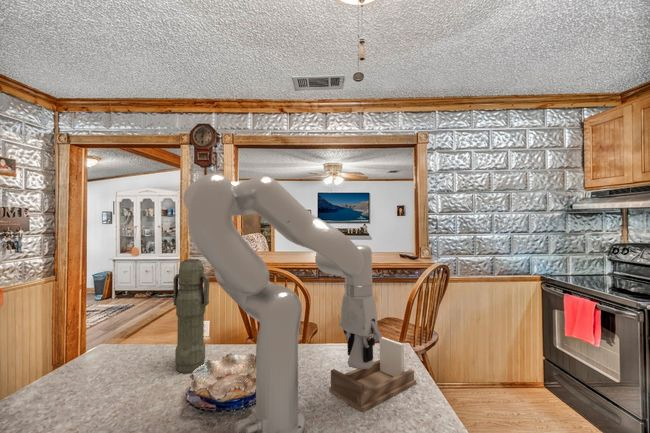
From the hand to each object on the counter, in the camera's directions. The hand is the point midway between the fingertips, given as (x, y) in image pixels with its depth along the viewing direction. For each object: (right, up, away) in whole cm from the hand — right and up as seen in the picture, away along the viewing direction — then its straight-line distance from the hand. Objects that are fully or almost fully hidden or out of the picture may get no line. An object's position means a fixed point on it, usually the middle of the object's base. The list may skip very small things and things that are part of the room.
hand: (360, 356), depth 85 cm
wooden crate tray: (+4, -10, +3) cm, 11 cm away
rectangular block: (+10, -9, +8) cm, 16 cm away
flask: (0, -2, 0) cm, 2 cm away
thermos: (-53, -11, +17) cm, 57 cm away
